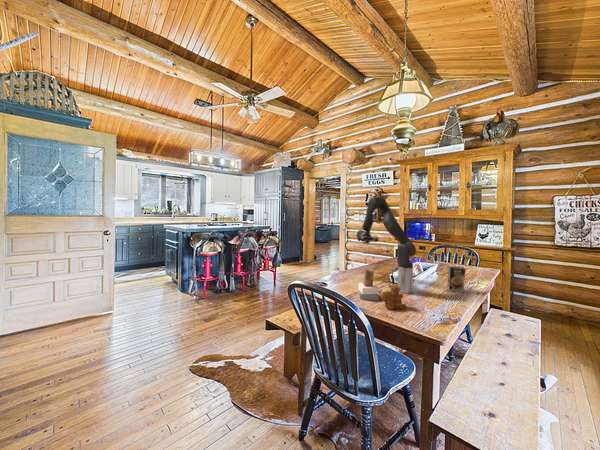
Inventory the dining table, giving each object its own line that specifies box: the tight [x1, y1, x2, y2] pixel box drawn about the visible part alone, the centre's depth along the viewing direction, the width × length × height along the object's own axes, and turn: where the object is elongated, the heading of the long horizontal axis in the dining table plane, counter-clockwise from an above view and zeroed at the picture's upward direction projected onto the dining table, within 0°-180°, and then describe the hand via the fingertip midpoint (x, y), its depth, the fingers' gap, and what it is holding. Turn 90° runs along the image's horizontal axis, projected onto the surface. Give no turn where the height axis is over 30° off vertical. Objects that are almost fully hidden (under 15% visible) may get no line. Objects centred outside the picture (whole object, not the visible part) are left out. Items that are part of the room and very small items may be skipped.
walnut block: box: [362, 268, 375, 287], centre depth 164 cm, size 5×5×10 cm
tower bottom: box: [358, 289, 379, 301], centre depth 165 cm, size 11×11×4 cm
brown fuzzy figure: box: [380, 283, 408, 311], centre depth 148 cm, size 10×14×13 cm
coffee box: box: [446, 266, 466, 293], centre depth 179 cm, size 9×6×16 cm
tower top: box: [358, 282, 380, 295], centre depth 165 cm, size 10×10×4 cm
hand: (369, 240), depth 180 cm, fingers open, 8 cm apart
